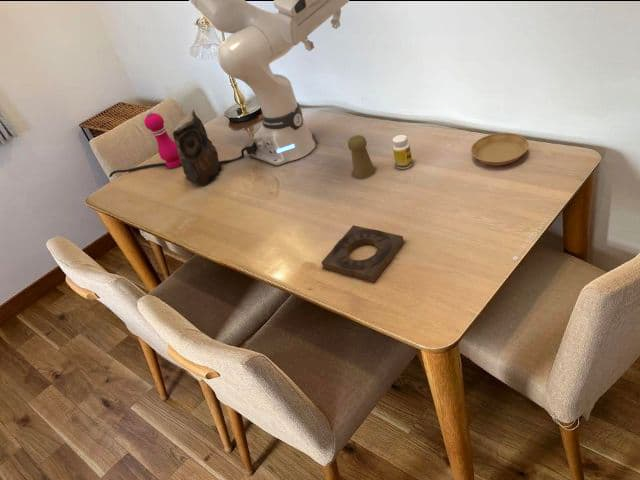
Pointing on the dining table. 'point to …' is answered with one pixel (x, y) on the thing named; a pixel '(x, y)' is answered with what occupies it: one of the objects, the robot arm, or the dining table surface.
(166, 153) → the pepper mill
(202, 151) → the owl
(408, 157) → the supplement bottle
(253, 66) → the robot arm
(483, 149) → the plant saucer
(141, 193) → the dining table surface
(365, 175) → the pepper shaker
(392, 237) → the holder
